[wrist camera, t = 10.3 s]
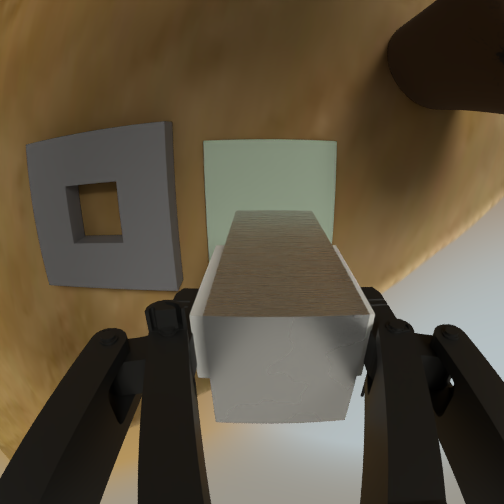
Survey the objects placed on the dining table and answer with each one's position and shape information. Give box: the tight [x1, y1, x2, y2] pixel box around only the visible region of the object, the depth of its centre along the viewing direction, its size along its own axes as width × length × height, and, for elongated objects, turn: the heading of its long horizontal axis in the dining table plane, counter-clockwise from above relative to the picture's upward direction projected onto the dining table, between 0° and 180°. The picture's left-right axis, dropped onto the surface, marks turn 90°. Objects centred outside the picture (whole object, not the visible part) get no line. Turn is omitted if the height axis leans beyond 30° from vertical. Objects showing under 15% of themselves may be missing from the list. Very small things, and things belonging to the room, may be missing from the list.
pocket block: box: [26, 121, 183, 291], centre depth 29 cm, size 16×16×2 cm
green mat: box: [203, 139, 337, 262], centre depth 30 cm, size 12×12×1 cm
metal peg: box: [203, 210, 370, 423], centre depth 14 cm, size 4×4×12 cm
